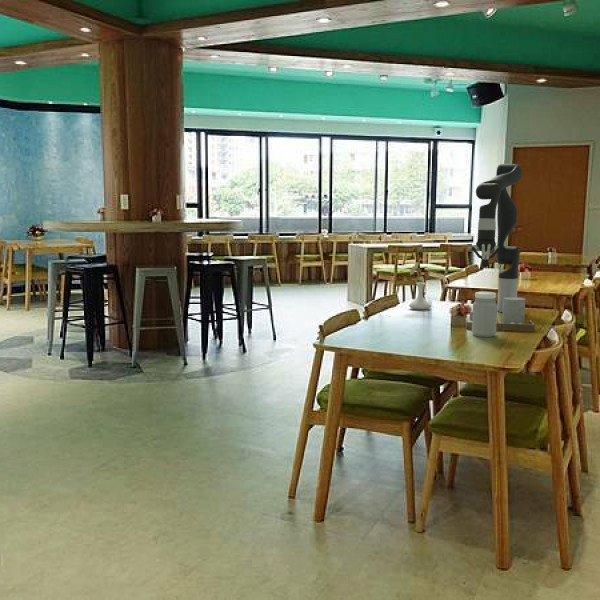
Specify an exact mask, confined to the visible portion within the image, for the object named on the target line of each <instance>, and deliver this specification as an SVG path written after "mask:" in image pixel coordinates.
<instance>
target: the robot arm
mask: <svg viewBox="0 0 600 600" xmlns="http://www.w3.org/2000/svg"><path fill="white" fill-rule="evenodd" d="M495 174H496V176H494V177H492V178H490V179H489V180H486V181H483V182H481V183H479V184H478V185H477V187H476V188H475V196H476V197H477V198H478V199H479V200H490V202H488V203H487V204H483V205H481V206H479V210H478V211H479V212H478V223H477V241H476V243H475V245H473V246H471V250H472V252H473V253H474V254H475V255H476V257H478V258H479V259H481V267H482V268H483V269H487V268H488V267H489V262H490V259H493V258H494V257H495V256H496V262H497V264H498V265H506V266H507V265H508V266H509V265H510V266H511V267H509V268H508V269H506V270H503V271H502V270H501V271H500V272H498V285H497V286H498V287H497V288H498V289H497V312H498V311H499V313H503V298H504V297H518V278H519V262H520V248H519V247H518V246H511V245H510V246H508V245H507V246H505V242H506V239H507V238H508V236H509V234H510V233H511V232H512V231H513V229H514V228H515V226H516V225H517V222H518V208H517V206H516V204H515V202H514V201H513V199H512V198H511V196H510V195H509V193H508V190H507V188H508V187H511V186H512V185H515V184H518V183H519V182H520V181H521V179H522V175H523V169H522V166H521V165H519V164H517V163H500V164H498V165H497V167H496V173H495ZM496 214H497V219H496ZM496 222H497V223H496ZM496 225H497V227H496ZM496 229H497V240H496ZM496 241H497V242H496ZM478 249H479V251H480V252H481V255H480V253H479V252H478ZM493 250H494V251H493ZM492 251H493V252H492ZM491 252H492V253H491ZM490 253H491V254H490Z"/></svg>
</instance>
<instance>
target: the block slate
mask: <svg viewBox="0 0 600 600" xmlns="http://www.w3.org/2000/svg"><path fill="white" fill-rule="evenodd" d="M472 318H473V309H472V310H470V311H469V320H470V321H472Z"/></svg>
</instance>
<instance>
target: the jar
mask: <svg viewBox="0 0 600 600" xmlns="http://www.w3.org/2000/svg"><path fill="white" fill-rule="evenodd" d="M474 297H475V298H474V300H475V301H474V302H473V303H472V310H473V318H472V320H471V322H472V329H471V333H472V334H473V335H474V336H475V337H479V338H492V336H493V337H494V336H495V335H496V334H497V330H496V324H497V319H498V311H497V305H498V303H497V302H496V301H497V299H496V298H497V293H496V292H494V291H477V292H474Z"/></svg>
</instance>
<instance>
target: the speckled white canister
mask: <svg viewBox="0 0 600 600" xmlns="http://www.w3.org/2000/svg"><path fill="white" fill-rule="evenodd" d="M525 313H526V298H525V297H521V296H517V297H504V298H503V312H502V320H501V321H502V322H501V323H507V324H511V323H516V324H518V323H523V324H525Z"/></svg>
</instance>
